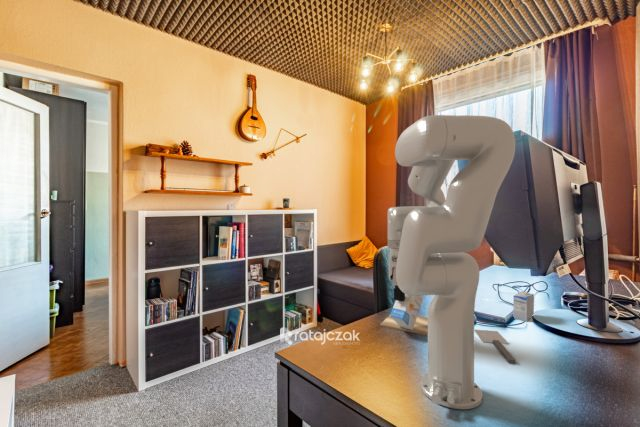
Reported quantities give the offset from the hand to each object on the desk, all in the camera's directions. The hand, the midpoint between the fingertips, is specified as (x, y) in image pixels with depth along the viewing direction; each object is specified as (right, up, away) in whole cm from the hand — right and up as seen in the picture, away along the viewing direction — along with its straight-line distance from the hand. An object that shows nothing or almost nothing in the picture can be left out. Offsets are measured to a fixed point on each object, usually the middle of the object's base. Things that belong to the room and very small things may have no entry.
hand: (399, 299), depth 98 cm
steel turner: (+27, -11, -8) cm, 30 cm away
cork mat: (+6, -11, +9) cm, 15 cm away
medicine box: (+50, -11, +13) cm, 52 cm away
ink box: (+1, -8, 0) cm, 8 cm away
